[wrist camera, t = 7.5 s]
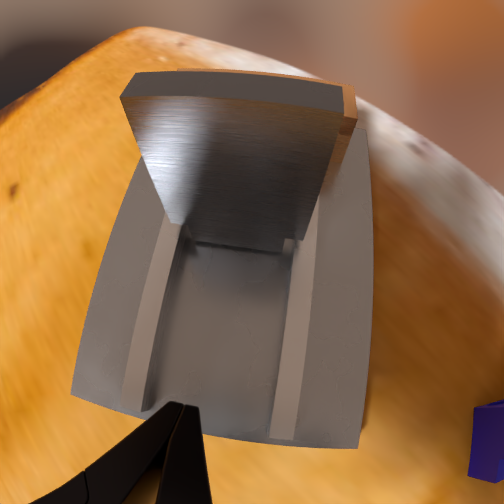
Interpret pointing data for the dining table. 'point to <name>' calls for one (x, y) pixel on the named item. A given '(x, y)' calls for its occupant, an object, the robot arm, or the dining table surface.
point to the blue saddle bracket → (488, 443)
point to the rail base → (240, 314)
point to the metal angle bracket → (235, 151)
